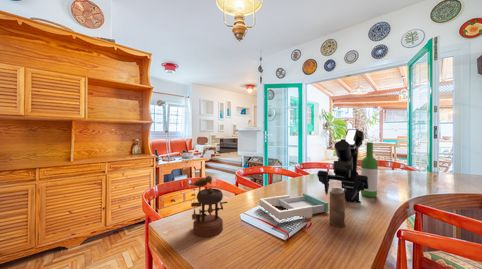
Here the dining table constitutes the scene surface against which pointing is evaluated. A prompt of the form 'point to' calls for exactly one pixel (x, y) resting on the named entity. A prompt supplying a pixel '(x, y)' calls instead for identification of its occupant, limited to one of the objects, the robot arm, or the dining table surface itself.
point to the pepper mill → (337, 207)
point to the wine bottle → (370, 171)
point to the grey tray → (305, 203)
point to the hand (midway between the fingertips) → (338, 196)
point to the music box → (207, 223)
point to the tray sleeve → (284, 214)
